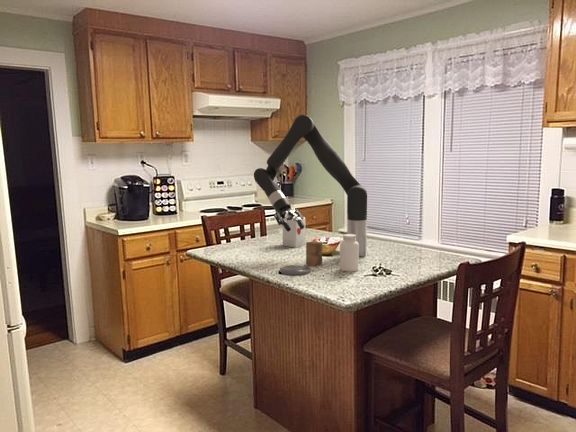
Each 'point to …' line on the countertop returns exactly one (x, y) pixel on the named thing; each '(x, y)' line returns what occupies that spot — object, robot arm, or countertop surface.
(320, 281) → the countertop surface
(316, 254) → the walnut block
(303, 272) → the disc
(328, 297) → the countertop surface
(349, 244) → the pill bottle
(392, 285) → the countertop surface
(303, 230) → the supplement box
